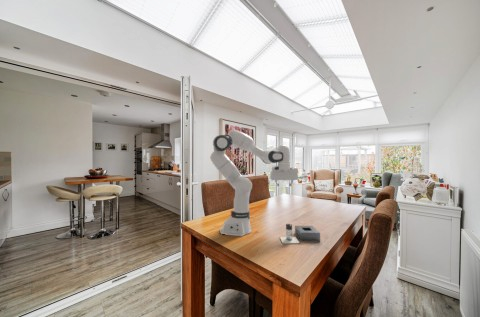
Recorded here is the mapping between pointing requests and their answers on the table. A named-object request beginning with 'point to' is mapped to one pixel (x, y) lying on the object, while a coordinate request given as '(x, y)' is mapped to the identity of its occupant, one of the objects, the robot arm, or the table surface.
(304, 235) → the block
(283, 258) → the table surface
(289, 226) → the chuck key
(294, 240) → the set down mat
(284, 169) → the robot arm
